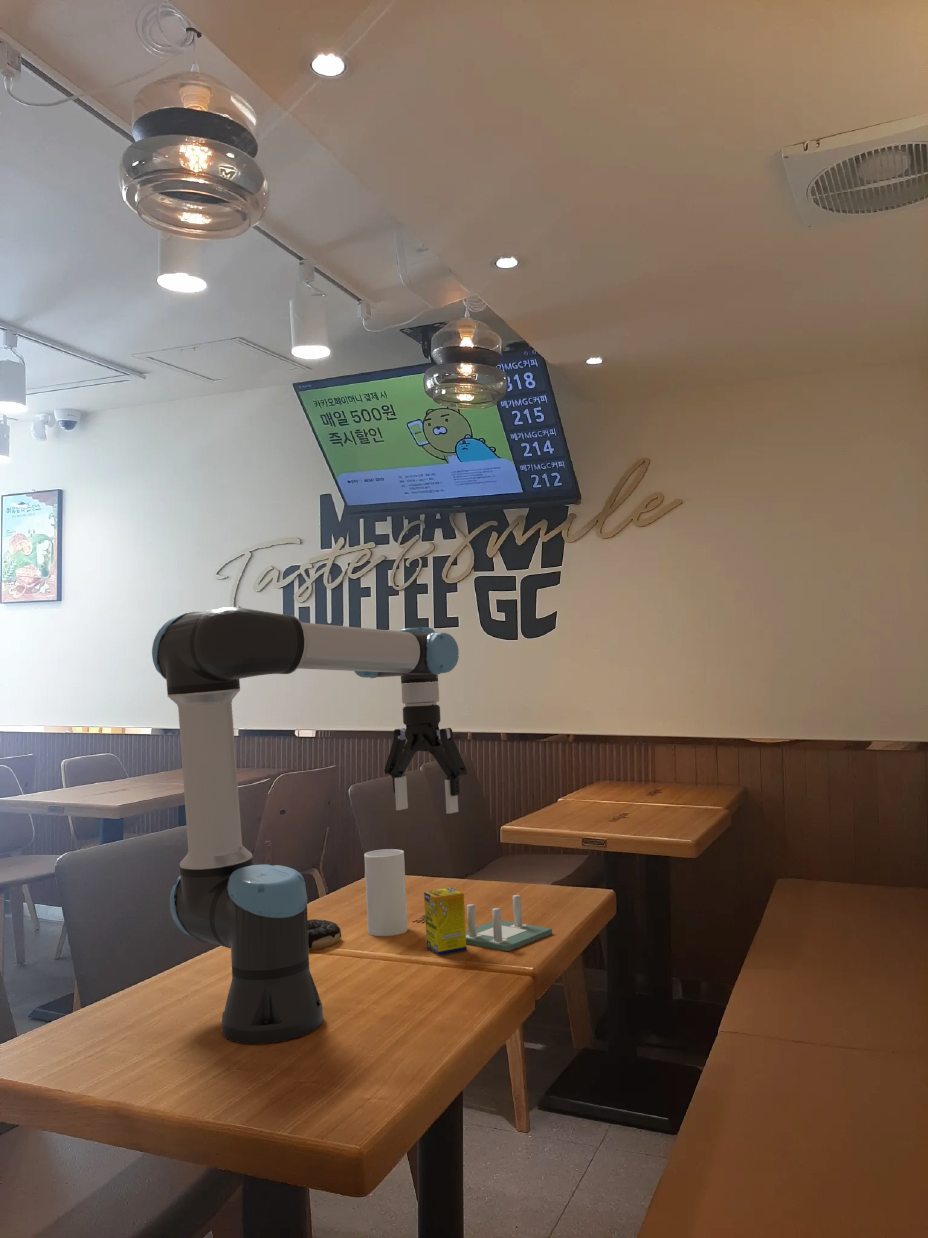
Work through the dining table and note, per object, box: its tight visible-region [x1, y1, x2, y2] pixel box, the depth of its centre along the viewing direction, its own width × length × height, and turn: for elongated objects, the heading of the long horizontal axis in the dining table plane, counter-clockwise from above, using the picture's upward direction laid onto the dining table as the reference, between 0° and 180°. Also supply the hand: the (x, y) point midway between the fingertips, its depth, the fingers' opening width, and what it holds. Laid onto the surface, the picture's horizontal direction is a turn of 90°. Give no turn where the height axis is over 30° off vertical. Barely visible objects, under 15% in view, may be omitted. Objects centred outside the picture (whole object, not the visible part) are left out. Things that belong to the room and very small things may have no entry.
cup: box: [363, 848, 409, 937], centre depth 199 cm, size 8×8×16 cm
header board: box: [466, 894, 553, 952], centre depth 189 cm, size 14×14×7 cm
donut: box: [307, 919, 342, 951], centre depth 193 cm, size 11×12×4 cm
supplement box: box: [423, 887, 467, 957], centre depth 183 cm, size 6×6×11 cm
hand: (426, 811), depth 192 cm, fingers open, 13 cm apart
